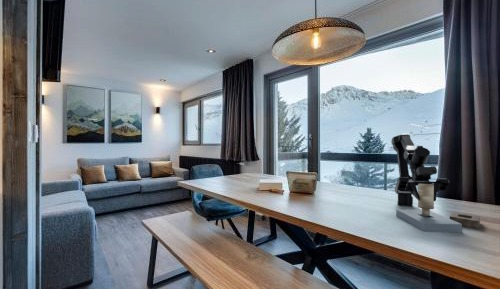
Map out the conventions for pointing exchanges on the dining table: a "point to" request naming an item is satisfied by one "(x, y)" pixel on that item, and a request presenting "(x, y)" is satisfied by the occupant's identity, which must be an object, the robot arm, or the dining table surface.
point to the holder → (466, 219)
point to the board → (428, 221)
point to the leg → (426, 198)
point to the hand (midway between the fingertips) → (427, 200)
